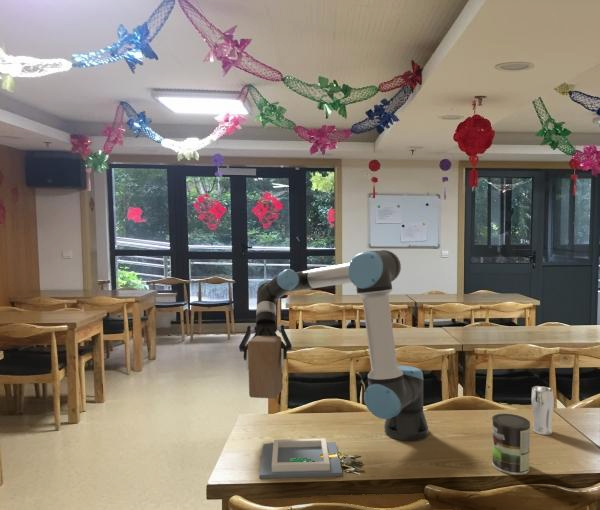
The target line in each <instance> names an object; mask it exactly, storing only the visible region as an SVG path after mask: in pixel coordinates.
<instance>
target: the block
mask: <svg viewBox="0 0 600 510" xmlns="http://www.w3.org/2000/svg"><path fill="white" fill-rule="evenodd" d="M253 337H254V336H253ZM253 337H251V338H250V339H249V340H248V341H247V344H248V368H249V370H248V391H249V392H248V393H249V397H250V398H257V399H277V397H278V396H279V395H280V393H281V392H282V390H283V369H282V367H281V349H282V348H281V341H282V337H281V336H279V335H277V336H255V337H254V338H253Z"/></svg>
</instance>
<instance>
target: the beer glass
mask: <svg viewBox="0 0 600 510" xmlns="http://www.w3.org/2000/svg"><path fill="white" fill-rule="evenodd" d="M530 396H531V398H530V401H531V403H530V404H531V410H532V415H533V425H532V431H533V432H534V433H536V434H538V435H544V436H549V435H552V434H553V429H552V417H553V412H554V407H555V402H554V401H555V400H554V398H555V397H554V390H553V389H552V388H551V387H547V386H543V385H542V386H540V385H535V386H533V387H531V395H530Z"/></svg>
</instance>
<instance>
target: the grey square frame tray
mask: <svg viewBox="0 0 600 510" xmlns="http://www.w3.org/2000/svg"><path fill="white" fill-rule="evenodd" d="M261 453H262V454H261V459H260V468H259V479H281V478H318V477H319V478H321V477H343V469H342V465H341V460H340V457H339V458H334V459H333V458H331V459H329V456H328V453H330V454H334V453H338V454H339V450H338V446H337V443H336V441H330V442H329V441H328V442H327V440H326V438H325V437H322V438H286V439H285V438H284V439H281V438H280V439H273V443H263V445H262V452H261ZM320 454H323V459H322V458H321V457H320ZM297 457H301V458H307V459H311V460H313V461H315V462H291V461H290V460H289V459H290V458H297Z"/></svg>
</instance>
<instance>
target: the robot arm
mask: <svg viewBox="0 0 600 510" xmlns="http://www.w3.org/2000/svg"><path fill="white" fill-rule="evenodd" d="M401 269H402V264H401V260H400V259H399V257H398V256H397V255H396V254H395V253H394V252H393V251H390V250H387V249H382V250H367V251H363V252H360V253H357V254H356V255H354V256H353V257H352V259H351V260H350V261H349V262H345V263H342V264H341V263H340V264H335V265H330V266H325V267H318V268H313V269H307V270H302V271H297V272H296V271H295V270H293V269H291V268H286V269H284V270H283V271H280V272H279V273H278V274H277V275H276V276H275V277H273V278H272V279H265V280H261V281H260V282H258V284H257V290H256V312H255V313H256V318H255V326H251V325H247V328H246V329H247V330H246V332H245V334H244V336H243V337H242V340H241V342H240V344H239V346H238V350H239V352H243V360H244V361H245V362H246V363H245V366H246V371H249V368H248V341H249V340H250V337H251V334H253V333H254V332H255V334H254V335H253V336H252V338H254V337H255V336H278V334H277V332H279V333H280V334H281V336H282V337H281V338H282V339H283V340H281V348H282V349H281V367H282V370H284V369H285V367H284V366H285V365H284V364H285V363H284V362H285V361H284V360H287V359H288V358H287V357H288V351H292V349H293V346H292V345H293V344H292V343H291V341H290V339H289V337H288V334H287V333H286V330H285V325H284V324H282V325H280V326H277V301H278V300H279V299H281V298H282V297H283V296H284V295H287V293H293V292H299V291H300V292H301V291H305V290H306V291H307V290H312V289H313V290H314V289H317V288H319V289H320V288H325V287H333V286H336V285H337V286H338V285H346V284H350V283H352V284H353V286H355V288H356V294H357V295H358V296H359V297H360V298H361V299H362V305H363V313H364V321H365V322H364V323H365V329H366V336H367V344H368V353H369V361H370V368H371V369H370V371H369V373H368V374H367V383H368V386H367V387H366V389H365V391H364V395H363V401H364V404H365V407H366V408H367V409H368V411H369V412H370V413H371V414H372V415H373V416H375V417H377V418H379V419H381V420H385V421H384V425H383V427H384V433H385V434H386V435H388V437H390V438H392V439H395V440H399V441H404V442H405V441H407V442H415V441H421V440H424V439H426V438H427V437H428V436H429V425H428V422H427V418H426V416H425V413H424V373H423V371H422V369H420V368H419V367H414V366H410V365H408V366H407V365H398V362H397V361H398V360H397V353H396V346H395V345H396V344H395V338H394V330H393V329H394V328H393V320H392V314H391V313H392V312H391V307H390V306H391V305H390V299H389V296H390V293H391V292H392V291H393V285H392V282H393V281H395V280H396V279H397V278H398V277H399V275H400V273H401ZM283 341H284V342H283Z"/></svg>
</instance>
